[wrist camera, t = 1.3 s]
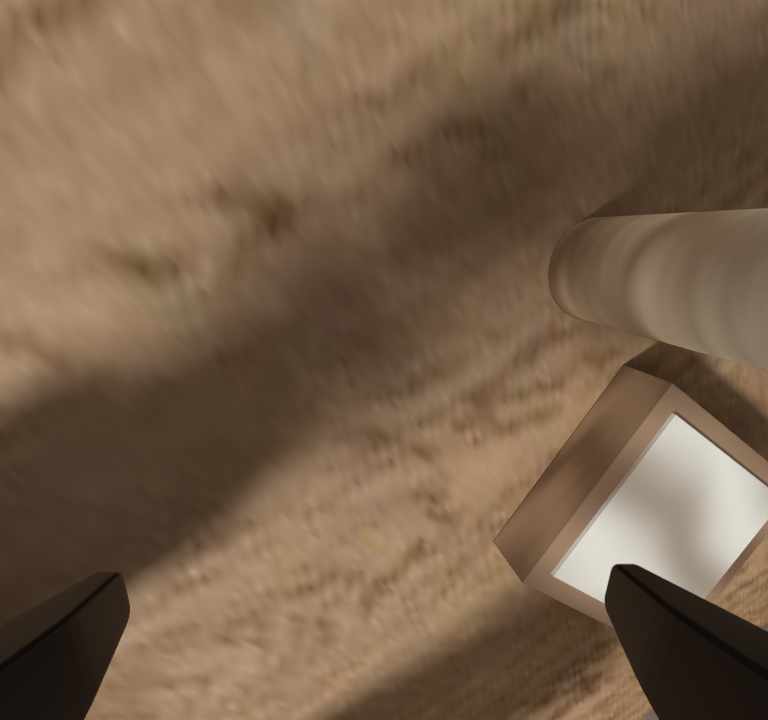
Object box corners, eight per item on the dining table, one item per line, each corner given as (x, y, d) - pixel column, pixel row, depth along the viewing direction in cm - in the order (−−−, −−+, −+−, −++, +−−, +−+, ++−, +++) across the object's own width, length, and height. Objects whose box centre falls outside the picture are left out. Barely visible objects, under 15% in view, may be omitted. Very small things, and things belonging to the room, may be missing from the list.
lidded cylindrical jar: (596, 340, 22) (875, 432, 12) (526, 284, 21) (775, 333, 10) (658, 256, 22) (1002, 275, 12) (591, 191, 20) (918, 148, 10)
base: (628, 613, 28) (672, 660, 25) (493, 541, 24) (524, 585, 21) (746, 463, 27) (806, 492, 24) (623, 364, 23) (676, 384, 20)
